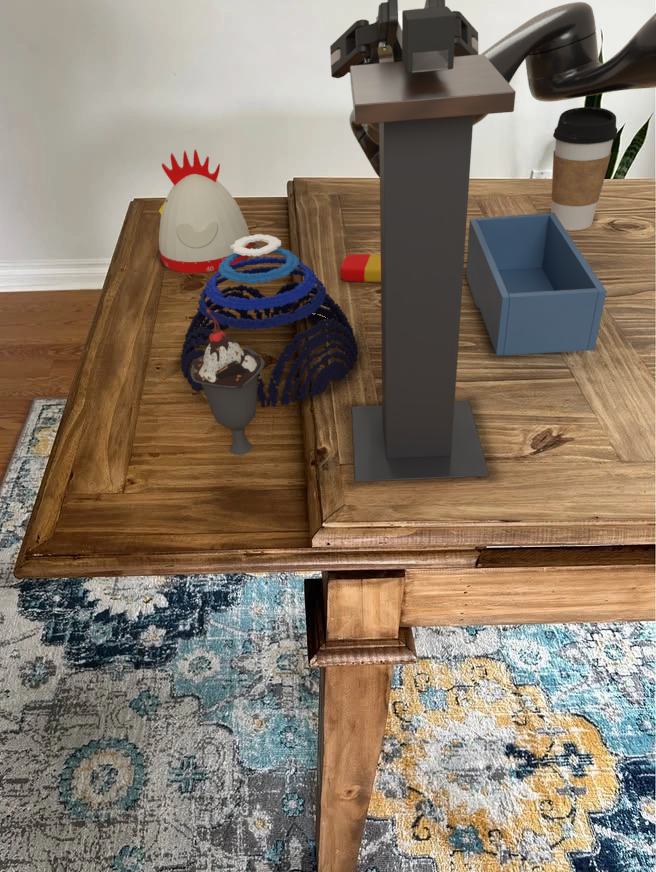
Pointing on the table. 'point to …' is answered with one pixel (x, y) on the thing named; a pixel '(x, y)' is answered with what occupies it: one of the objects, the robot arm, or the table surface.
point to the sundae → (229, 384)
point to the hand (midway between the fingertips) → (412, 6)
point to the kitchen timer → (198, 219)
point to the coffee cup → (580, 164)
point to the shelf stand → (422, 265)
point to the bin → (532, 285)
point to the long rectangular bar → (426, 38)
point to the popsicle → (361, 268)
